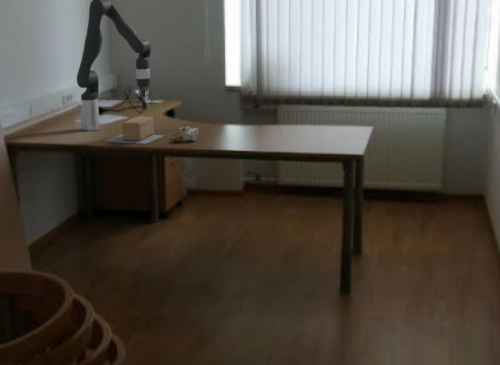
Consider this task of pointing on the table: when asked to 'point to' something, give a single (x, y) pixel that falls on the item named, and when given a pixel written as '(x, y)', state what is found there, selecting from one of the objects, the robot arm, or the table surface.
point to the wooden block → (138, 128)
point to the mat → (144, 141)
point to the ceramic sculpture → (186, 134)
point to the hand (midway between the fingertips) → (144, 109)
